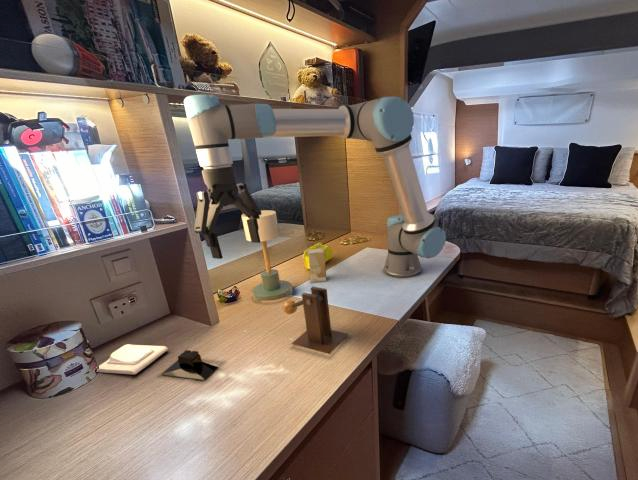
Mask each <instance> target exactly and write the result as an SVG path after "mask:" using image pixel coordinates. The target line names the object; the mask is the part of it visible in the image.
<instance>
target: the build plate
mask: <svg viewBox="0 0 638 480" xmlns="http://www.w3.org/2000/svg"><path fill="white" fill-rule="evenodd" d="M201 356H202V355H201V354H200V353H199V351H198V350H188V349H185V350H184V351H183V352H181V353H180V354H179V355H178V356H177V360H176V361H175V362H174V363H173V364H171V365H170V366H169V367H168V368H166V369H165V370H164V371H163V372H162V373H161V376H162V377H163V376H164V377H171V378H180V379H185V380H186V379H187V380H194V381H196V382H204V381H207V380H208V378H209V377H211V376H212V374H213V373H214V372H215V371H216V370H217V369H218V368H219V366H217V365H213V364H210V363H207V362H205V361H203V360H202V359H203V358H202V357H201Z"/></svg>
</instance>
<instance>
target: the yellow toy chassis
mask: <svg viewBox="0 0 638 480" xmlns="http://www.w3.org/2000/svg"><path fill="white" fill-rule="evenodd" d="M332 248H333V247H332V246H331V245H328V246H327V245H323V243H322V242H320V241H319V242H318V243H316V244H314V245H312V246H310V247H308V248H306V249H305V250H304V252H303V254H302V258H303V264H304V269H307V270H310V266H309V256H308V250H314V249H324V254H325V263H328V261H330V260H331V259H332V258H333V249H332Z"/></svg>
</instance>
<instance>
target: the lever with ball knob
mask: <svg viewBox="0 0 638 480" xmlns="http://www.w3.org/2000/svg"><path fill="white" fill-rule="evenodd" d="M311 294H314V295H318V299H319V301H321V300H322V299H323V297H322V295H321V293H320V292H319V291H317V292H314V293H311ZM300 306H303V300H300V301H297V302H295V301H294V300H290V299H289V300H286V301H285V302H284V303H283V304H282V309H283V312H284V313H285V314H287V315H293V314H295V313H296V311H297V310H298V307H300Z"/></svg>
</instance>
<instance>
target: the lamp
mask: <svg viewBox="0 0 638 480" xmlns="http://www.w3.org/2000/svg"><path fill="white" fill-rule="evenodd" d="M260 211H261V213H262V214H261V215H259V216H260V218H259V219H257V222H258V227H259V230H258V233H259V237H260V243H261V247H262V252H263V258H264V263H265V270H262V272H260V277H261V282H260V283H259V284H257V285H255V286H253V288H252V290H251V293H252V298H253V301H254V302H256V303H261V302H262V301H266V302H267V301H275V300H279V299H283V298H286V297H287V296H292V295H293V293H294V289H293V284H292V283H291V282H290V281H288V280H283V279H280V275H279V270H278V269H276V268H275V269H273V268H272V266H271V260H270V254H269V248H268V243H267V241H272V240H275V239H277V238H279V237H280V229H279V224H278V218H277V212H276V211H275V210H269V209H262V210H261V209H260ZM248 219H249V218H248V217H247V216H246V215H245V214H244V213H242V214H241V221H242V225H243V231H244V236H245V240H246V241H248V242H251V238H250V234H249V229H248V225H247V221H246V220H248Z"/></svg>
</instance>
